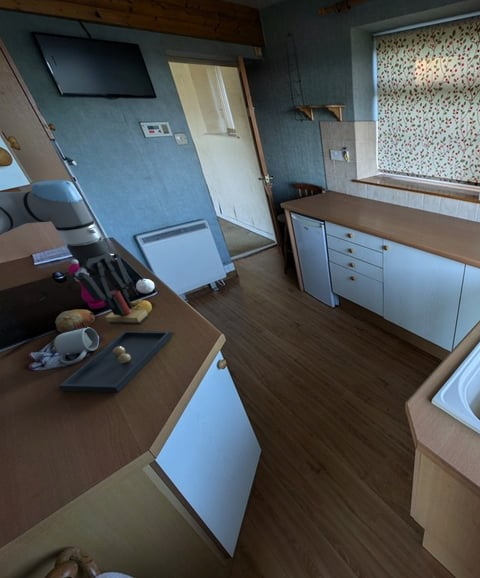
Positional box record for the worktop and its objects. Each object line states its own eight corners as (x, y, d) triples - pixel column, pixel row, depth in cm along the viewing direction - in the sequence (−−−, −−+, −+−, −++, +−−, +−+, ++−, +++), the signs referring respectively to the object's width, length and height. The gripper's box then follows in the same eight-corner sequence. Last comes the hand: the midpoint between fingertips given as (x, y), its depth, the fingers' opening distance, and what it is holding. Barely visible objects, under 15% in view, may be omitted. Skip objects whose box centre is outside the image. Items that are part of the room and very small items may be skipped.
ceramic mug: (71, 346, 97) (58, 328, 93) (102, 340, 100) (90, 322, 96) (55, 369, 89) (40, 350, 85) (89, 361, 92) (76, 343, 87)
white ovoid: (140, 297, 122) (131, 281, 118) (139, 291, 126) (131, 275, 122) (157, 293, 125) (149, 277, 121) (156, 287, 129) (149, 271, 125)
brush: (109, 324, 92) (91, 295, 86) (119, 317, 95) (102, 288, 90) (140, 325, 92) (124, 296, 86) (149, 317, 95) (134, 289, 89)
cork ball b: (117, 365, 89) (113, 358, 88) (125, 358, 92) (121, 351, 90) (127, 365, 89) (123, 358, 88) (134, 358, 92) (130, 351, 90)
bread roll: (67, 332, 108) (43, 321, 102) (93, 310, 113) (71, 299, 106) (76, 342, 104) (51, 332, 98) (102, 319, 108) (80, 308, 102)
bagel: (153, 302, 120) (148, 292, 117) (153, 316, 112) (148, 306, 109) (123, 309, 115) (117, 299, 112) (120, 324, 107) (114, 314, 105)
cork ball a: (112, 357, 92) (108, 350, 90) (120, 351, 94) (115, 344, 93) (122, 358, 92) (117, 351, 90) (129, 351, 94) (125, 344, 93)
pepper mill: (110, 306, 117) (83, 261, 106) (86, 311, 113) (57, 265, 103) (113, 297, 122) (88, 254, 111) (90, 302, 119) (63, 258, 108)
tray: (63, 391, 82) (58, 385, 81) (127, 335, 102) (124, 330, 101) (118, 392, 82) (114, 387, 81) (172, 336, 102) (169, 331, 101)
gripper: (70, 253, 72) (115, 327, 85) (121, 230, 86) (153, 297, 98) (41, 253, 72) (90, 326, 85) (95, 230, 86) (131, 297, 98)
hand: (123, 311), depth 91 cm, fingers closed on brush, 3 cm apart
